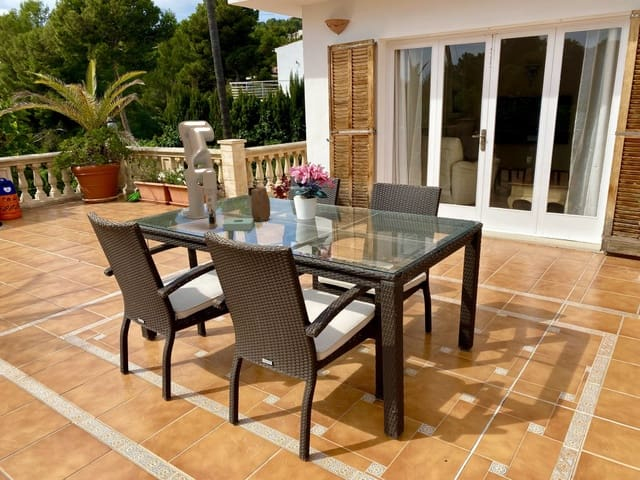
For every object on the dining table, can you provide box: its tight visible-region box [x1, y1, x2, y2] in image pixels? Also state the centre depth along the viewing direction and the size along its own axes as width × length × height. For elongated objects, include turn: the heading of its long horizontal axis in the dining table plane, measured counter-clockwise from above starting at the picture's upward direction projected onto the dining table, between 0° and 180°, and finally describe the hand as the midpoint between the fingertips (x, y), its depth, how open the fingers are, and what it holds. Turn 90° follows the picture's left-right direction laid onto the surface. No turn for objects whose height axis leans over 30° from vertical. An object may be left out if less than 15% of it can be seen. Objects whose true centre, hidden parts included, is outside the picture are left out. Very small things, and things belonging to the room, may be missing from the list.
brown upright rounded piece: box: [251, 186, 271, 223], centre depth 302 cm, size 11×8×20 cm
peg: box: [209, 211, 217, 230], centre depth 286 cm, size 4×4×10 cm
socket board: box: [222, 217, 255, 232], centre depth 286 cm, size 16×14×4 cm
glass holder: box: [247, 186, 268, 212], centre depth 331 cm, size 9×14×15 cm, turn 70°
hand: (212, 222), depth 286 cm, fingers open, 4 cm apart
